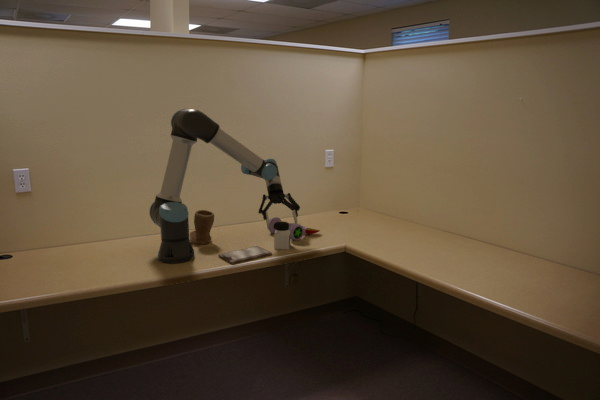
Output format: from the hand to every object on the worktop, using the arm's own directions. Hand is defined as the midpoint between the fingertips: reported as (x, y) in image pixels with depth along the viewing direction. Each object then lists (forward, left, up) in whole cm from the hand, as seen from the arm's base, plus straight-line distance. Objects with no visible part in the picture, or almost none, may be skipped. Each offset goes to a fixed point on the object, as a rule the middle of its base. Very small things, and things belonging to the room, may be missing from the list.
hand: (282, 224), depth 211 cm
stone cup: (-28, +29, -10) cm, 41 cm away
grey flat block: (-23, -3, -10) cm, 25 cm away
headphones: (+15, +11, -10) cm, 21 cm away
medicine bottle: (-3, -3, -10) cm, 11 cm away
